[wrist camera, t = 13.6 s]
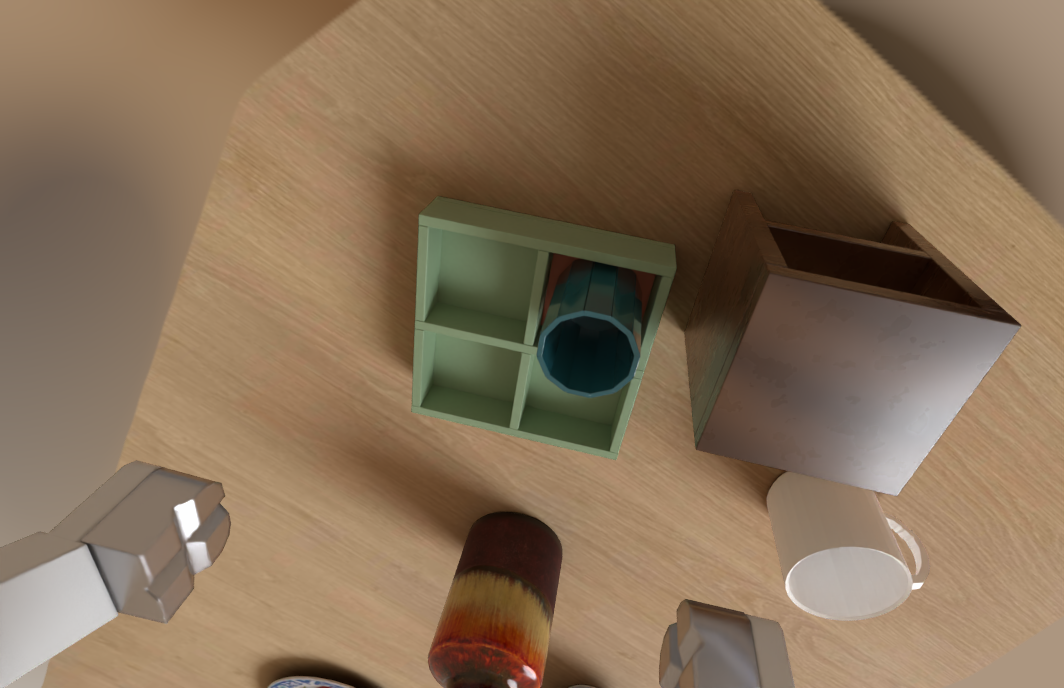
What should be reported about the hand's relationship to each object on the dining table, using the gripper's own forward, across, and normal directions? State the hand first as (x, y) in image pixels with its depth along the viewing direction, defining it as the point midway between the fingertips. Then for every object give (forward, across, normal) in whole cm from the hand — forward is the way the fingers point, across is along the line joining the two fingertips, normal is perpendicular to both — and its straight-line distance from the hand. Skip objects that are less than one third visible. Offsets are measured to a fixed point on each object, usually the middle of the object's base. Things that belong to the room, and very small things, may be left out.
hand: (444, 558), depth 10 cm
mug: (+35, -28, +28) cm, 53 cm away
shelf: (+35, -16, +8) cm, 39 cm away
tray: (+35, +2, +16) cm, 38 cm away
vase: (+35, 0, +45) cm, 57 cm away
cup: (+34, -2, +12) cm, 36 cm away
